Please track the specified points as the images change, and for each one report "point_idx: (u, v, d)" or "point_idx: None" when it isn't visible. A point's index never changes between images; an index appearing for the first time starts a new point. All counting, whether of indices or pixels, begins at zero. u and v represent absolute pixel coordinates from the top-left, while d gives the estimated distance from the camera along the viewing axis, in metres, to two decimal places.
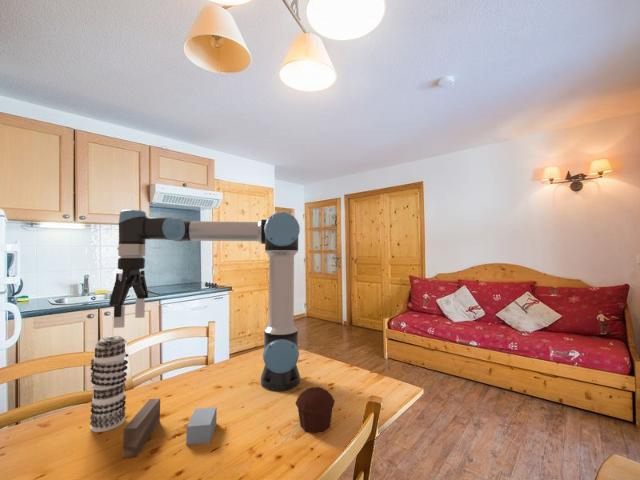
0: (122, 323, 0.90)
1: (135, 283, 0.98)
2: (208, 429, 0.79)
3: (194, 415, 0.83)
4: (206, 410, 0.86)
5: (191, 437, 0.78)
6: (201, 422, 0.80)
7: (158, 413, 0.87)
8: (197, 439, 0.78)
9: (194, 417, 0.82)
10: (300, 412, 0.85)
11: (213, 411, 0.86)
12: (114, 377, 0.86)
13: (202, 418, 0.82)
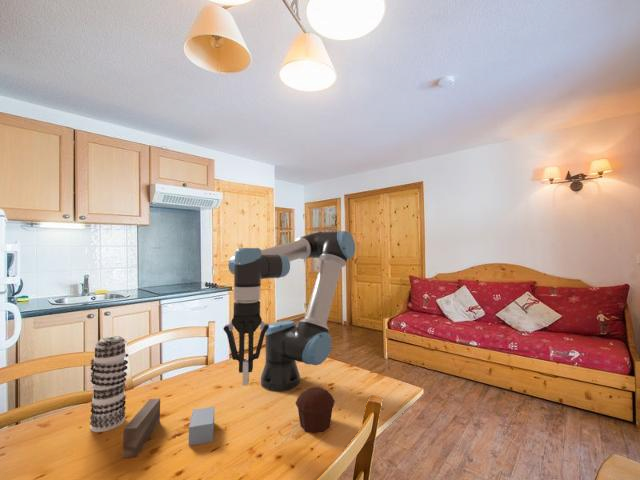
0: None
1: None
2: (211, 428, 0.79)
3: (193, 416, 0.83)
4: (205, 410, 0.86)
5: (194, 437, 0.78)
6: (203, 422, 0.80)
7: (158, 413, 0.87)
8: (199, 438, 0.79)
9: (194, 418, 0.82)
10: (300, 412, 0.85)
11: (212, 410, 0.86)
12: (114, 377, 0.86)
13: (203, 418, 0.82)
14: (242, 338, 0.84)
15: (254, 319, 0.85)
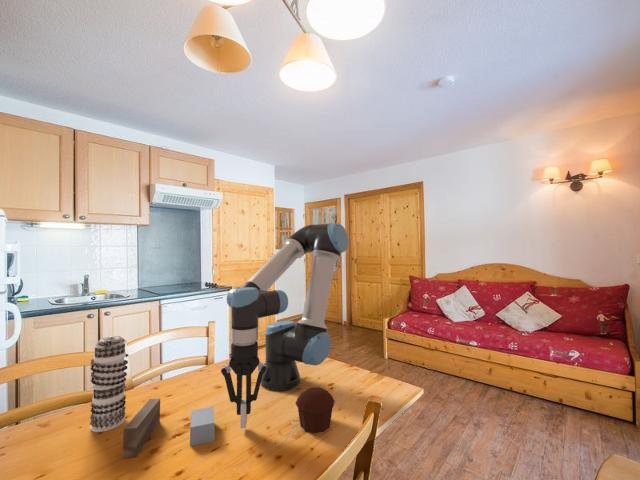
0: (240, 423, 0.83)
1: None
2: (212, 427, 0.80)
3: (193, 416, 0.83)
4: (204, 410, 0.86)
5: (195, 437, 0.78)
6: (204, 422, 0.80)
7: (158, 413, 0.87)
8: (201, 438, 0.79)
9: (194, 418, 0.82)
10: (300, 412, 0.85)
11: (212, 410, 0.86)
12: (114, 377, 0.86)
13: (203, 417, 0.82)
14: (240, 380, 0.84)
15: (252, 361, 0.84)
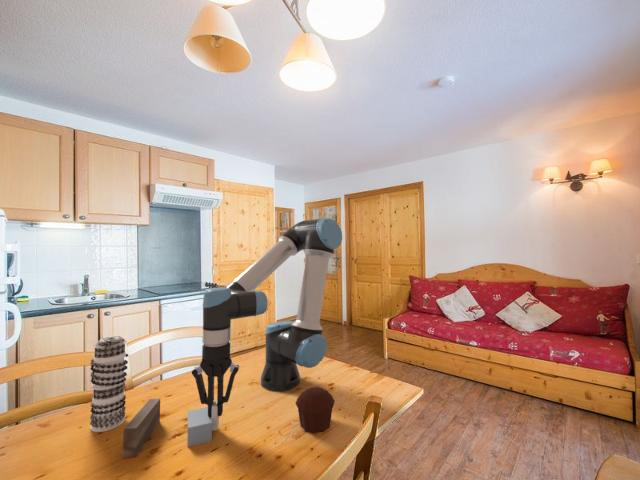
0: None
1: None
2: (210, 427, 0.80)
3: (190, 417, 0.83)
4: (200, 411, 0.86)
5: (193, 437, 0.78)
6: (202, 422, 0.80)
7: (158, 413, 0.87)
8: (198, 438, 0.78)
9: (191, 419, 0.82)
10: (300, 412, 0.85)
11: None
12: (114, 377, 0.86)
13: (200, 418, 0.82)
14: (211, 382, 0.82)
15: (223, 362, 0.83)
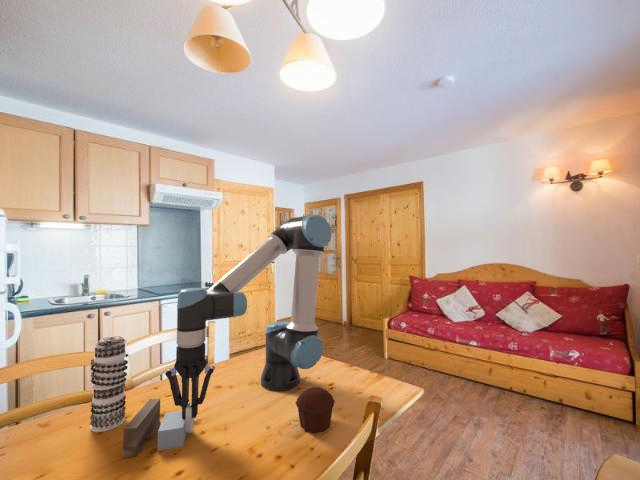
0: None
1: None
2: (181, 432, 0.78)
3: (165, 419, 0.81)
4: (177, 413, 0.84)
5: (163, 441, 0.76)
6: (174, 426, 0.78)
7: (158, 413, 0.87)
8: (169, 443, 0.77)
9: (165, 422, 0.80)
10: (300, 412, 0.85)
11: None
12: (114, 377, 0.86)
13: (174, 421, 0.80)
14: (185, 383, 0.81)
15: (198, 363, 0.82)
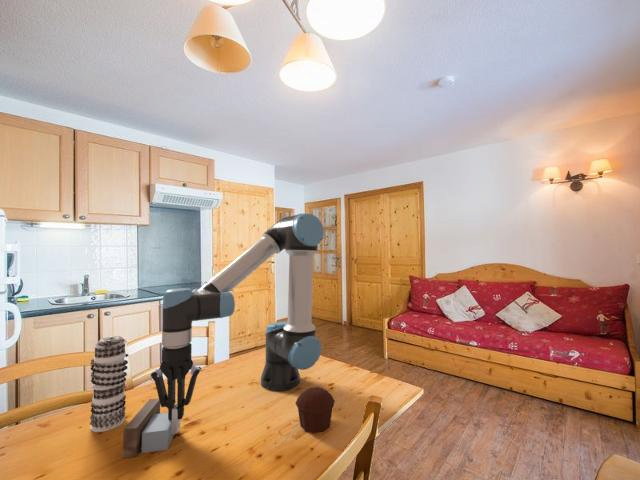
0: (172, 428, 0.81)
1: None
2: (165, 435, 0.76)
3: (151, 421, 0.80)
4: (165, 415, 0.83)
5: (147, 443, 0.75)
6: (158, 428, 0.77)
7: (158, 413, 0.87)
8: (153, 445, 0.76)
9: (151, 423, 0.79)
10: (300, 412, 0.85)
11: None
12: (114, 377, 0.86)
13: (160, 423, 0.79)
14: (171, 384, 0.81)
15: (184, 364, 0.82)
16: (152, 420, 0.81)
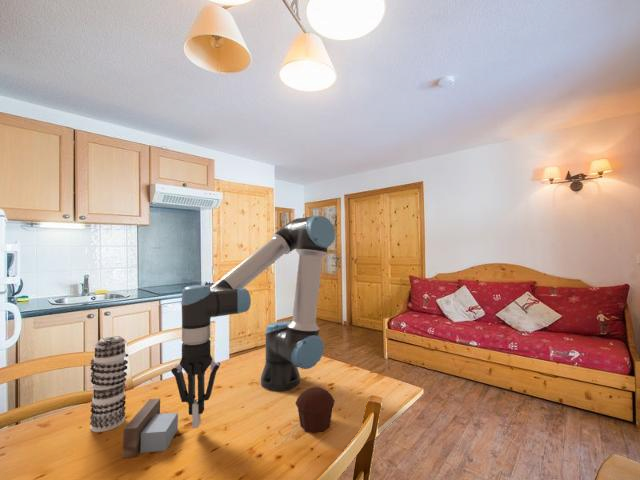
0: None
1: None
2: (163, 436, 0.76)
3: (152, 421, 0.81)
4: (166, 416, 0.83)
5: (146, 444, 0.75)
6: (157, 429, 0.77)
7: (158, 413, 0.87)
8: (152, 446, 0.75)
9: (151, 424, 0.79)
10: (300, 412, 0.85)
11: (173, 417, 0.83)
12: (114, 377, 0.86)
13: (159, 424, 0.79)
14: (191, 380, 0.82)
15: (203, 360, 0.83)
16: (153, 420, 0.81)
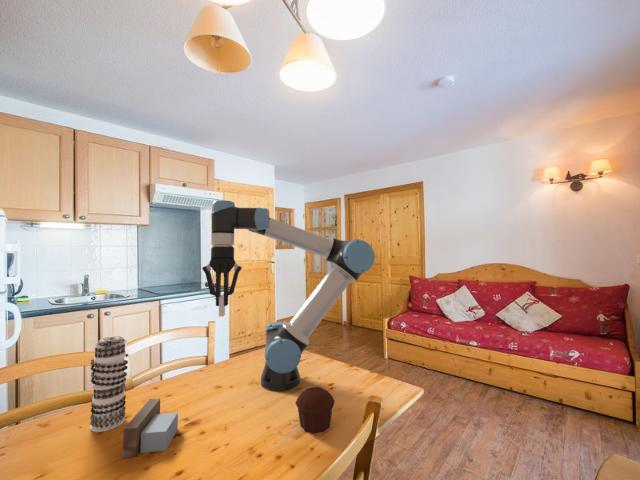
0: (219, 312, 0.99)
1: (223, 271, 1.00)
2: (163, 436, 0.76)
3: (152, 421, 0.81)
4: (166, 416, 0.83)
5: (146, 444, 0.75)
6: (157, 429, 0.77)
7: (158, 413, 0.87)
8: (152, 446, 0.75)
9: (151, 423, 0.79)
10: (300, 412, 0.85)
11: (173, 417, 0.83)
12: (114, 377, 0.86)
13: (160, 424, 0.79)
14: (218, 277, 0.99)
15: (228, 261, 1.00)
16: (153, 420, 0.81)
